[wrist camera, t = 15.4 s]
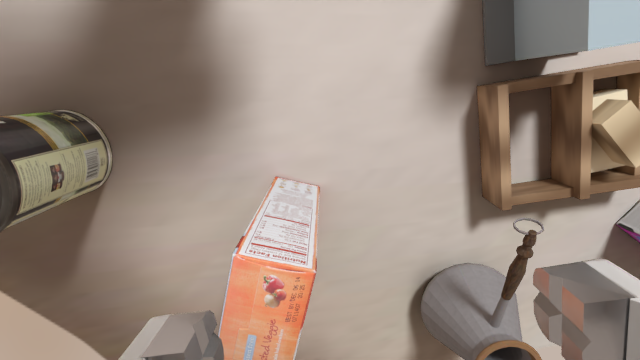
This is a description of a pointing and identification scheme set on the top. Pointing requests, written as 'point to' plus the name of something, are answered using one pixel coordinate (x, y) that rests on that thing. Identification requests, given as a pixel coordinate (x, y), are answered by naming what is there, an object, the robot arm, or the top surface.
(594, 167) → the block
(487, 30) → the mat
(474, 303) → the coffee pot
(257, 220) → the cracker box
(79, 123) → the coffee can
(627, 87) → the rack
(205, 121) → the top surface
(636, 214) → the candy bar box
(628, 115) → the upper offcut
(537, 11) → the board
